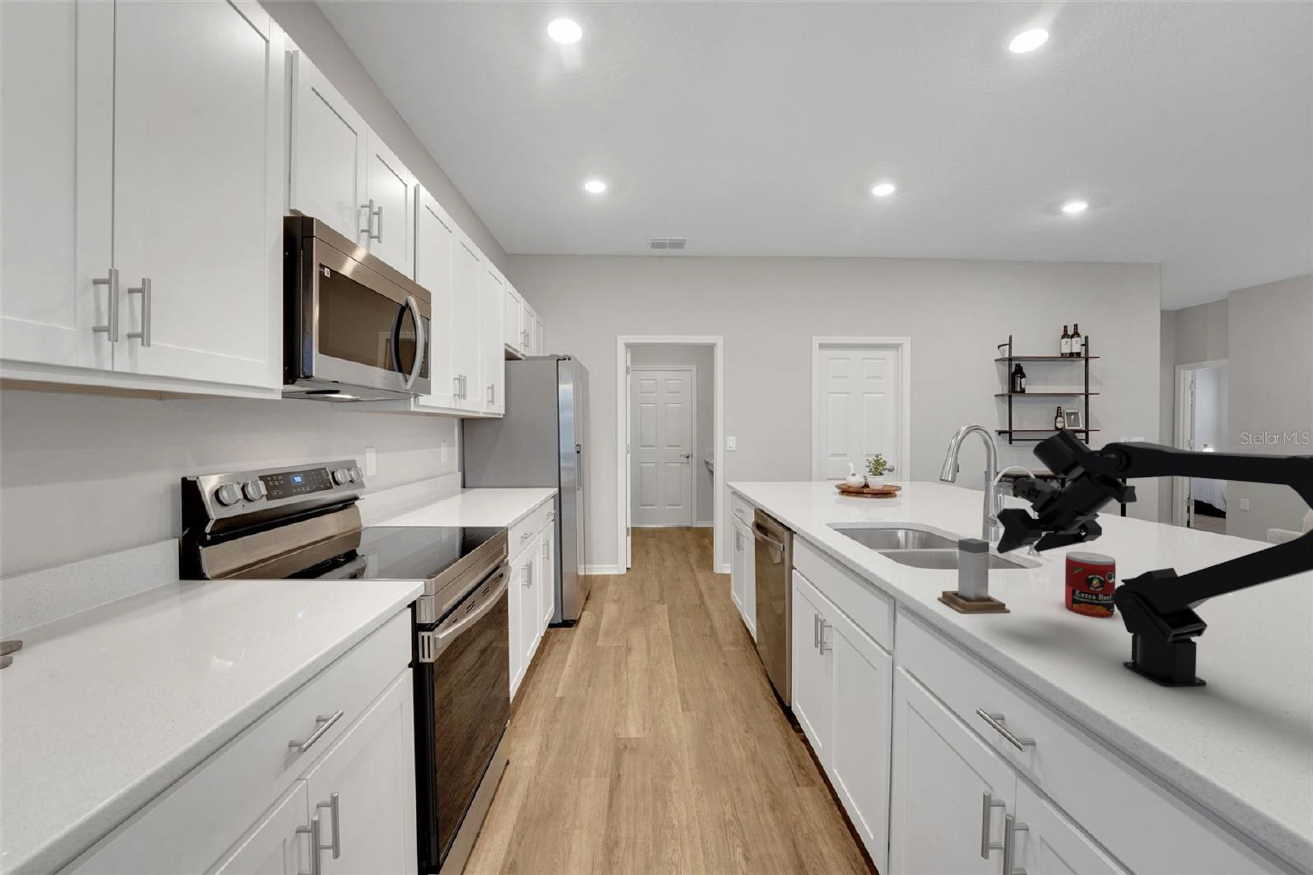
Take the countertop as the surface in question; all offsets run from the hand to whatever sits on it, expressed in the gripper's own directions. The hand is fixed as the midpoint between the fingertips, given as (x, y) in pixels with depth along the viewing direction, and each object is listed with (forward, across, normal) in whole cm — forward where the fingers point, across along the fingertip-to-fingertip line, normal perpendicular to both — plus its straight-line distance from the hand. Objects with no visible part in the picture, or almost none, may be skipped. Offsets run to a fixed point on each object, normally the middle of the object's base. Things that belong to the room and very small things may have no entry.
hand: (1017, 550), depth 97 cm
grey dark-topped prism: (+15, 0, +3) cm, 16 cm away
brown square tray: (+16, 0, +3) cm, 16 cm away
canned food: (+9, -20, +9) cm, 23 cm away
